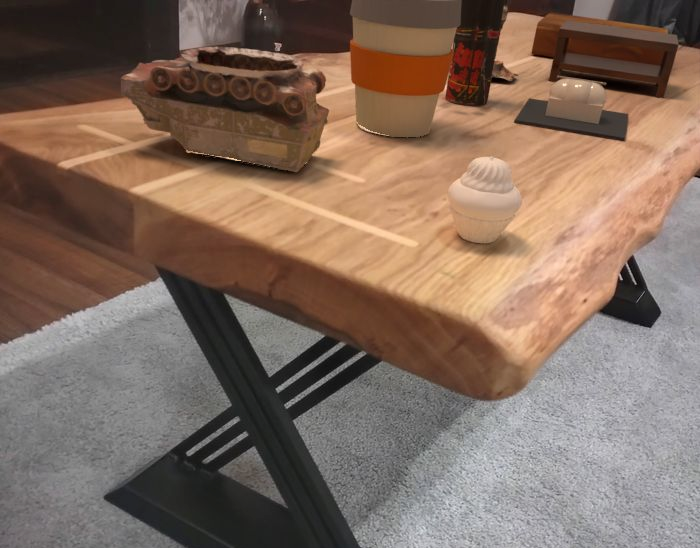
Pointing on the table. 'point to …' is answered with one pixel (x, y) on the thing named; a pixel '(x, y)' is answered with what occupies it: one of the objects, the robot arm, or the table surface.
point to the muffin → (484, 200)
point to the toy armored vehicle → (233, 104)
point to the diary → (553, 22)
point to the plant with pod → (498, 67)
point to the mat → (608, 126)
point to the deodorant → (474, 52)
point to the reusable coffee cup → (401, 62)
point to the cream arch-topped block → (576, 100)
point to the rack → (614, 66)
